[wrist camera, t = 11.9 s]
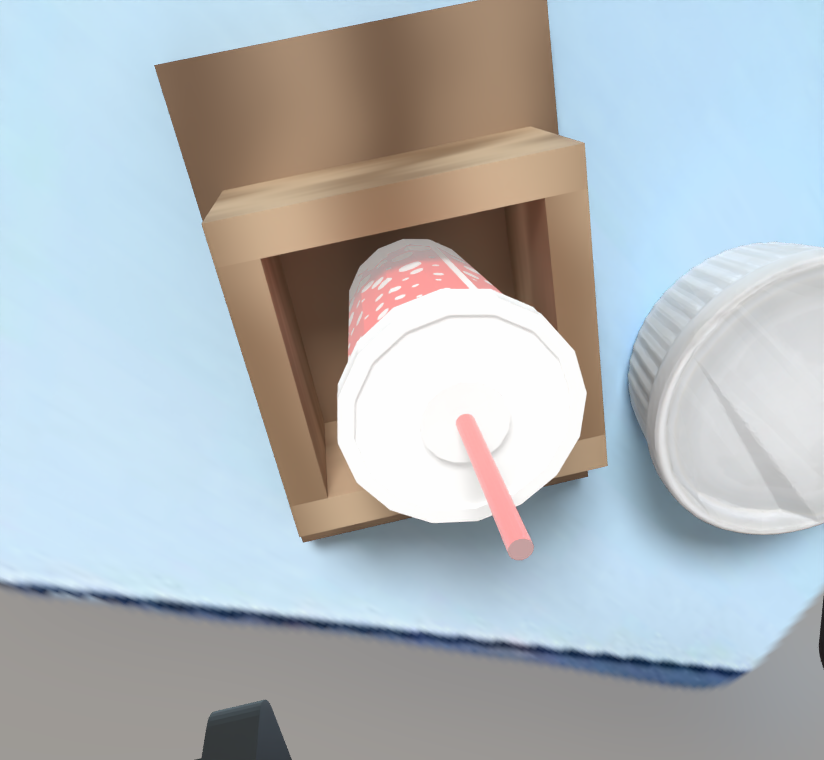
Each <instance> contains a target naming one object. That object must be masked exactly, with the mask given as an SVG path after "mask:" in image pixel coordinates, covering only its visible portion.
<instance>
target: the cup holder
mask: <svg viewBox="0 0 824 760" xmlns="http://www.w3.org/2000/svg"><path fill="white" fill-rule="evenodd" d="M154 66H155V69H156V72H157V76H158V79H159V82H160V85H161V89H162V92H163V95H164V98H165V101H166V105H167V108H168V111H169V114H170V117H171V121H172V124H173V127H174V130H175V133H176V137H177V140H178V143H179V146H180V149H181V153H182V156H183V159H184V162H185V166H186V169H187V172H188V175H189V178H190V182H191V185H192V188H193V191H194V194H195V198H196V201H197V204H198V207H199V210H200V214H201V217H202V220H203V222H202V227H203V230H204V233H205V237H206V240H207V243H208V246H209V249H210V253H211V256H212V259H213V262H214V265H215V269H216V272H217V275H218V278H219V281H220V285H221V288H222V291H223V294H224V297H225V301H226V304H227V307H228V310H229V313H230V316H231V320H232V323H233V326H234V329H235V332H236V336H237V339H238V342H239V345H240V348H241V352H242V355H243V358H244V361H245V364H246V368H247V371H248V374H249V377H250V380H251V384H252V387H253V390H254V393H255V396H256V400H257V403H258V406H259V409H260V412H261V416H262V419H263V422H264V425H265V428H266V431H267V435H268V438H269V441H270V444H271V447H272V451H273V454H274V457H275V460H276V463H277V467H278V470H279V473H280V476H281V479H282V483H283V486H284V489H285V492H286V495H287V499H288V502H289V505H290V508H291V511H292V515H293V518H294V521H295V524H296V527H297V531H298V534H299V537H301V538H302V541H303V542H308V541H312V540H316V539H321V538H325V537H329V536H334V535H338V534H342V533H346V532H351V531H355V530H359V529H364V528H368V527H372V526H377V525H381V524H385V523H390V522H394V521H398V520H403V519H407V518H411V516H408V515H404V514H401V513H398V512H395V511H392V510H389V509H388V508H387V507H386V506H385V505H383V504H382V503H381V502H380V501H378V500H377V499H376V498H375V497H374V496H372V495H371V494H370V493H369V492H368V491H366V490H365V489H364V488H363V487H361V486H360V485H359V484H358V483H357V482H356V480H355V478H354V476H353V474H352V472H351V470H350V468H349V466H348V464H347V461H346V459H345V457H344V455H343V453H342V451H341V449H340V447H339V445H338V439H337V393H338V383H339V380H340V378H341V376H342V374H343V372H344V369H345V367H346V365H347V363H348V337H349V290H350V288H351V285H352V283H353V281H354V278H355V276H356V274H357V272H358V269H359V267H360V266H361V265H362V264H363V263H364V262H365V261H366V260H367V259H368V258H369V257H370V256H371V255H372V254H373V253H375V252H376V251H377V250H378V249H379V248H382V247H384V246H387V245H389V244H392V243H394V242H397V241H399V240H402V239H429V240H431V241H434V242H436V243H438V244H441V245H443V246H445V247H448V248H450V249H452V250H453V251H454V252H455V253H457V254H458V255H459V256H460V257H461V258H462V259H463V260H465V261H466V262H467V263H468V264H469V265H470V266H471V267H473V268H474V269H475V270H476V271H477V272H478V273H479V274H481V275H482V276H483V277H484V278H485V279H486V280H487V281H489V282H490V283H491V284H492V285H493V286H494V287H495V288H497V289H498V290H499V291H500V292H501V293H502V294H504V295H506V296H508V297H511V298H513V299H515V300H518V301H520V302H522V303H525V304H527V305H529V306H532V307H534V308H535V309H536V311H537V312H539V313H541V314H542V315H543V316H544V317H545V318H546V320H547V321H548V322H549V323H550V324H551V325H552V326H553V327H554V329H555V330H556V331H557V332H558V333H559V334H560V335H561V336H562V337H563V339H564V340H565V341H566V342H567V343H568V344H569V345H570V346H571V347H572V349H573V350H574V351H575V354H576V357H577V361H578V364H579V368H580V371H581V375H582V378H583V382H584V385H585V389H586V392H587V394H586V401H585V407H584V414H583V420H582V426H581V433H580V437H579V439H578V440H577V442H576V444H575V445H574V447H573V449H572V451H571V452H570V454H569V456H568V457H567V459H566V461H565V462H564V464H563V466H562V467H561V469H560V471H559V472H558V474H557V475H556V476H555V477H554V478H553V479H551V480H550V481H549V482H548V483H547V484H545V485H544V486H543V487H545V486H549V485H554V484H558V483H562V482H567V481H571V480H575V479H580V478H584V477H588V470H592V469H596V468H601V467H605V466H608V465H607V451H606V437H605V423H604V409H603V395H602V381H601V367H600V353H599V339H598V325H597V311H596V297H595V283H594V269H593V255H592V241H591V227H590V213H589V199H588V185H587V171H586V157H585V143H583V142H580V141H576V140H573V139H570V138H567V137H563V136H560V135H558V123H557V111H556V100H555V88H554V77H553V65H552V53H551V42H550V30H549V19H548V7H547V0H478V1H473V2H468V3H463V4H458V5H453V6H448V7H443V8H438V9H433V10H428V11H423V12H418V13H413V14H408V15H403V16H398V17H393V18H388V19H383V20H378V21H373V22H368V23H363V24H358V25H353V26H348V27H343V28H338V29H333V30H328V31H323V32H318V33H313V34H308V35H303V36H298V37H293V38H288V39H283V40H278V41H273V42H268V43H263V44H258V45H253V46H248V47H243V48H238V49H233V50H228V51H223V52H218V53H213V54H208V55H203V56H198V57H193V58H188V59H183V60H178V61H173V62H168V63H163V64H158V65H154Z"/></svg>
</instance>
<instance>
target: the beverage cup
mask: <svg viewBox="0 0 824 760" xmlns="http://www.w3.org/2000/svg"><path fill="white" fill-rule="evenodd" d="M586 394H587V392H586V389H585V385H584V382H583V378H582V375H581V371H580V368H579V364H578V361H577V357H576V354H575V351H574V350H573V349H572V347H571V346H570V345H569V344H568V343H567V342H566V341H565V340H564V339H563V337H562V336H561V335H560V334H559V333H558V332H557V331H556V330H555V329H554V327H553V326H552V325H551V324H550V323H549V322H548V321H547V320H546V318H545V317H544V316H543V315H542V314H541V313H539V312H537V311H536V309H535V308H534V307H532V306H529V305H527V304H525V303H522V302H520V301H518V300H515V299H513V298H511V297H508V296H506V295H504V294H502V293H501V292H500V291H499V290H498V289H497V288H495V287H494V286H493V285H492V284H491V283H490V282H489V281H487V280H486V279H485V278H484V277H483V276H482V275H481V274H479V273H478V272H477V271H476V270H475V269H474V268H473V267H471V266H470V265H469V264H468V263H467V262H466V261H465V260H463V259H462V258H461V257H460V256H459V255H458V254H457V253H455V252H454V251H453V250H452V249H450V248H448V247H445V246H443V245H441V244H438V243H436V242H434V241H431V240H429V239H402V240H399V241H397V242H394V243H392V244H389V245H387V246H384V247H382V248H379V249H378V250H377V251H376V252H375V253H373V254H372V255H371V256H370V257H369V258H368V259H367V260H366V261H365V262H364V263H363V264H362V265H361V266H360V267H359V269H358V272H357V274H356V276H355V278H354V281H353V283H352V285H351V288H350V290H349V337H348V363H347V365H346V367H345V369H344V372H343V374H342V376H341V378H340V380H339V383H338V393H337V439H338V445H339V447H340V449H341V451H342V453H343V455H344V457H345V459H346V461H347V464H348V466H349V468H350V470H351V472H352V474H353V476H354V478H355V480H356V482H357V483H358V484H359V485H360V486H361V487H363V488H364V489H365V490H366V491H368V492H369V493H370V494H371V495H372V496H374V497H375V498H376V499H377V500H378V501H380V502H381V503H382V504H383V505H385V506H386V507H387V508H388V509H389V510H392V511H395V512H398V513H401V514H404V515H408V516H411V517H414V518H417V519H421V520H424V521H427V522H430V523H446V522H467V521H479V520H482V519H485V518H487V517H490V516H492V515H493V517H494V520H495V522H496V525H497V527H498V530H499V532H500V535H501V537H502V540H503V542H504V544H505V547H506V549H507V552H508V554H509V556H510V557H511V558H512V559H515V560H523V559H526V558H528V557H529V556H530V555H531V554H532V552H533V549H534V546H533V543H532V541H531V539H530V536H529V534H528V532H527V530H526V528H525V526H524V524H523V521H522V519H521V517H520V515H519V513H518V511H517V509H516V506H518V505H521V504H522V503H523V502H525V501H526V500H527V499H528V498H530V497H531V496H532V495H533V494H534V493H536V492H537V491H538V490H539V489H540V488H542V487H543V486H544V485H545V484H547V483H548V482H549V481H550V480H551V479H553V478H554V477H555V476H556V475H557V474H558V472H559V471H560V469H561V467H562V466H563V464H564V462H565V461H566V459H567V457H568V456H569V454H570V452H571V451H572V449H573V447H574V445H575V444H576V442H577V440H578V439H579V437H580V433H581V426H582V420H583V414H584V407H585V401H586Z"/></svg>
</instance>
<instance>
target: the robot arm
mask: <svg viewBox="0 0 824 760" xmlns="http://www.w3.org/2000/svg"><path fill="white" fill-rule="evenodd" d="M819 653H820V658H821V662H822V665H823V668H824V598H823V608H822V619H821V628H820V639H819ZM197 760H292V759H291V757H290V754H289V751H288V749H287V746H286V744H285V741H284V739H283V736H282V733H281V731H280V728H279V726H278V723H277V720H276V718H275V715H274V712H273V710H272V707H271V705H270V703H269V702H268V701H267V700H262V701H257V702H253V703H249V704H245V705H240V706H236V707H232V708H227V709H223V710H219V711H215V712H212V713H211V715H210V717H209V719H208V723H207V728H206V734H205V740H204V746H203V752H202V758H201V759H197Z"/></svg>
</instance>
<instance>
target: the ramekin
mask: <svg viewBox="0 0 824 760" xmlns="http://www.w3.org/2000/svg"><path fill="white" fill-rule="evenodd" d="M628 380H629V387H628V388H629V393H630V398H631V405H632V407H633V409H634V412H635V416H636V418H637V421H638V423H639V425H640V427H641V429H642V431H643V434H644V436H645V438H646V440H647V443H648V448H649V452H650V456H651V459H652V462H653V464H654V467H655V469H656V471H657V474H658V475H659V477H660V479H661V480H662V482H663V483H664V485H665V486H666V488H667V489H668V490H669V492H670V493H671V494H672V495H673V497H674V498H675V499H676V500H677V501H678V502H679V503H680V504H681V505H682V506H683V507H684V508H685V509H686V510H688V511H689V512H690V513H691V514H693V515H694V516H695V517H697V518H699V519H700V520H702V521H704V522H706V523H708V524H710V525H713V526H715V527H718V528H721V529H724V530H728V531H734V532H738V533H745V534H760V535H773V534H782V533H789V532H794V531H799V530H803V529H807V528H811V527H813V526H817V525H820V524H823V523H824V247H816V246H809V245H802V244H794V243H782V242H768V243H754V244H750V245H742V246H738V247H736V248H733V249H730V250H726V251H723V252H721V253H720V254H718V255H715V256H713V257H710V258H708V259H706V260H704V261H703V262H702V263H700V264H699V265H697V266H695V267H693V268H691V269H690V270H689V271H688V272H687V273H686V274H685V275H683V276H682V277H680V278H679V279H677V280H676V282H675V283H674V284H673V285H672V286H671V287H670V288H669V289H667V290H666V291H665V292H664V294H663V295H662V296H661V297H660V299H659V300H658V301H657V302H656V303H655V304H654V306H653V308H652V309H651V311H650V313H649V314H648V316H647V317H646V318H645V321H644V323H643V325H642V327H641V328H640V330H639V332H638V336H637V339H636V341H635V343H634V346H633V352H632V355H631V358H630V368H629V372H628Z"/></svg>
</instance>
